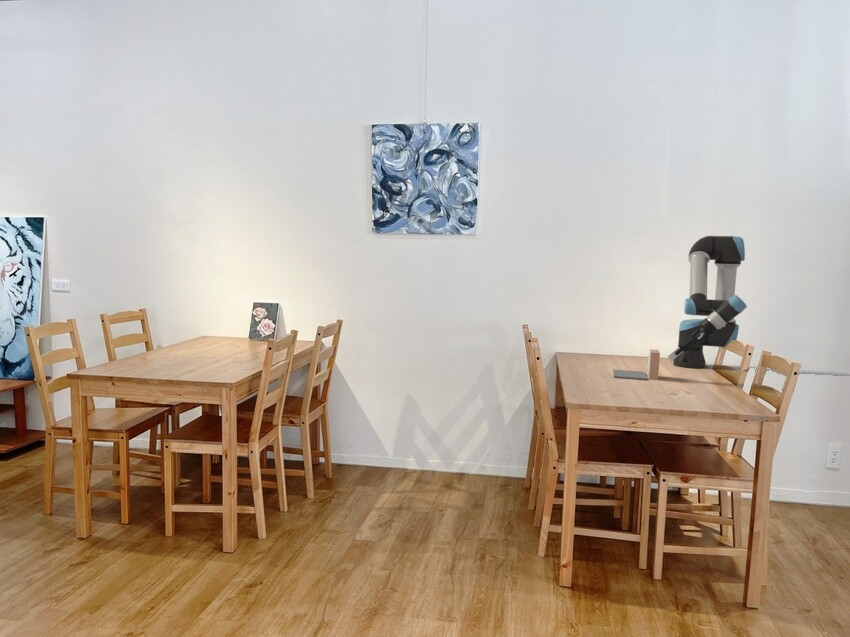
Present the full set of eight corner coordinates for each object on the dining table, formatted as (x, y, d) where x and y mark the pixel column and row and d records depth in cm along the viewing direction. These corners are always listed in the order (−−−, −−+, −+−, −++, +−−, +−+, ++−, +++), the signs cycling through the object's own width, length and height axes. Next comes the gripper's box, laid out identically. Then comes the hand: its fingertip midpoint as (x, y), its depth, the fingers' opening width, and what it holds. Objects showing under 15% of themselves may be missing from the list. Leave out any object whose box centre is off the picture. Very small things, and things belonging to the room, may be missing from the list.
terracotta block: (656, 375, 302) (658, 349, 300) (658, 379, 293) (659, 353, 292) (647, 375, 303) (649, 349, 301) (648, 379, 294) (650, 352, 293)
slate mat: (644, 373, 306) (644, 371, 306) (646, 380, 291) (646, 378, 291) (613, 371, 310) (613, 369, 310) (613, 377, 294) (613, 375, 294)
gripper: (721, 332, 282) (676, 367, 288) (716, 328, 295) (673, 362, 301) (708, 319, 283) (664, 354, 289) (704, 315, 295) (662, 350, 302)
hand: (669, 358), depth 295 cm, fingers closed
